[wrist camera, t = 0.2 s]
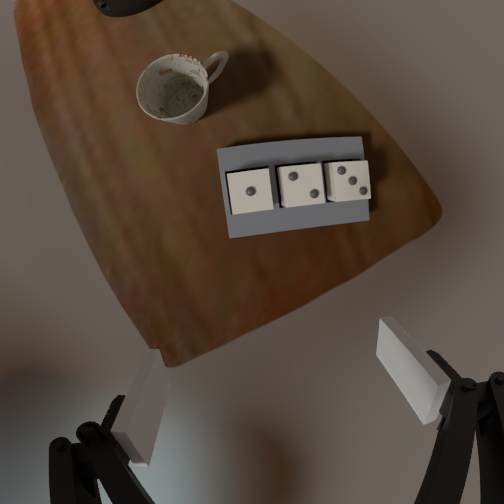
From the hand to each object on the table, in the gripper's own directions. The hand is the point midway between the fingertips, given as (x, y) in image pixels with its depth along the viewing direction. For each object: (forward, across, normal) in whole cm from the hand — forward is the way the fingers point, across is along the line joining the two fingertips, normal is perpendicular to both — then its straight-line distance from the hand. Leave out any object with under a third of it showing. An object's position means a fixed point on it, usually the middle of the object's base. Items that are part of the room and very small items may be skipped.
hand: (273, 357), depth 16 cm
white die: (+25, +7, +8) cm, 27 cm away
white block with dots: (+25, +14, +8) cm, 30 cm away
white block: (+25, +1, +8) cm, 26 cm away
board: (+27, +7, +8) cm, 29 cm away
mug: (+28, -5, +23) cm, 36 cm away
